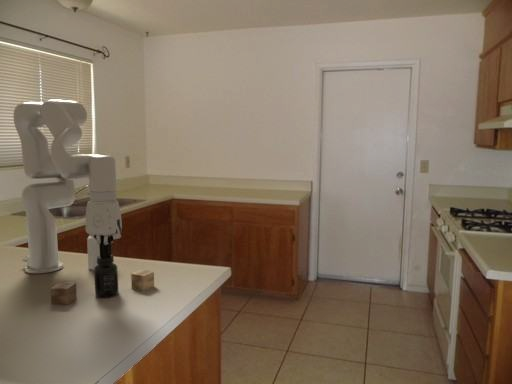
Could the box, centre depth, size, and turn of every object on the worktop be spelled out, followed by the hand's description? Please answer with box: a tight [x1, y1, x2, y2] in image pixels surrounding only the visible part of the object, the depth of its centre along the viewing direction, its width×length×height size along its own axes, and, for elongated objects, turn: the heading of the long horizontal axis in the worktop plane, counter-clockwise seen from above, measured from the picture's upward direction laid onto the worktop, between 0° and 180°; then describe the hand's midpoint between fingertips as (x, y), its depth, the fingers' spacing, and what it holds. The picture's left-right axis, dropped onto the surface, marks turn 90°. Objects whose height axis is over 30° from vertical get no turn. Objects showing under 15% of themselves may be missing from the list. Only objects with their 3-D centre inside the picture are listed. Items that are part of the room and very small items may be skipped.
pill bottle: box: [86, 235, 100, 271], centre depth 154 cm, size 8×8×15 cm
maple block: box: [130, 269, 155, 292], centre depth 135 cm, size 5×5×5 cm
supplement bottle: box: [93, 254, 119, 299], centre depth 128 cm, size 7×7×12 cm
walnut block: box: [50, 282, 77, 306], centre depth 122 cm, size 5×5×5 cm
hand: (105, 256), depth 127 cm, fingers closed
